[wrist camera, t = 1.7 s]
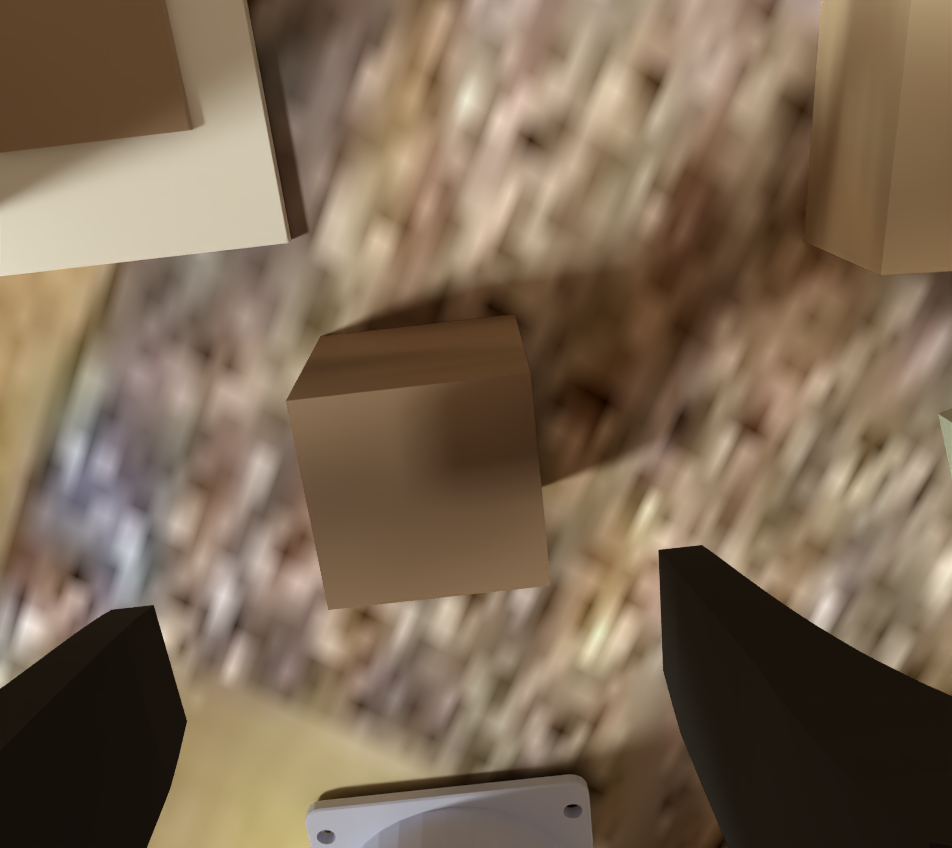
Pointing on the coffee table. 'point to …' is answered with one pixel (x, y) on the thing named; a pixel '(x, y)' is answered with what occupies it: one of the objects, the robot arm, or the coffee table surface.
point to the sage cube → (947, 433)
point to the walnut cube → (421, 462)
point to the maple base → (883, 136)
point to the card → (132, 133)
